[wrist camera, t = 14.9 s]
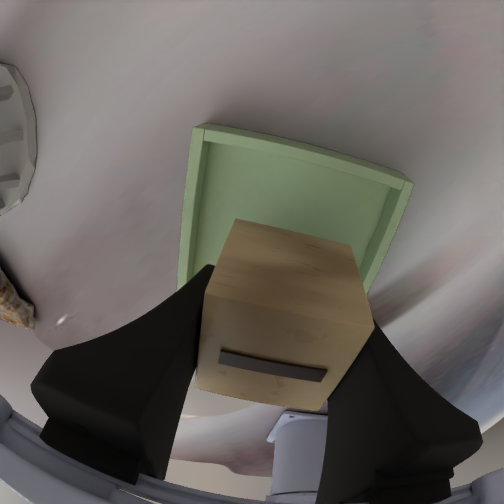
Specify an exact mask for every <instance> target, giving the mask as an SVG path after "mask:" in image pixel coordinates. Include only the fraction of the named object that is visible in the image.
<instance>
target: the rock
mask: <svg viewBox="0 0 504 504" xmlns="http://www.w3.org/2000/svg"><path fill="white" fill-rule="evenodd" d="M33 312H34V306H33V305H32V304H30V303H29V302H27V301H25V300H24V299H20V298H19V296H18V293H17V291H16V290H15V289H14V286H13V285H12V284H11V283H10V281H9V280H8V279H7V278H6V276H5V274H4V272H3V271H2V270H1V267H0V319H1V320H4V321H6V322H11V323H12V324H13V325H15V326H18V327H24V328H27V329H28V330H34V328H35V320H34V319H33Z"/></svg>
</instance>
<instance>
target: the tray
mask: <svg viewBox="0 0 504 504" xmlns="http://www.w3.org/2000/svg"><path fill="white" fill-rule="evenodd" d="M413 186H414V183H413V182H412V181H411V180H409V179H408V178H407V177H406V176H405V175H404V174H402V173H400V172H398V171H395V170H392V169H389V168H386V167H383V166H380V165H377V164H374V163H371V162H368V161H365V160H362V159H359V158H355V157H352V156H349V155H345V154H342V153H339V152H335V151H332V150H328V149H324V148H321V147H317V146H313V145H309V144H305V143H301V142H297V141H293V140H289V139H285V138H281V137H276V136H272V135H267V134H262V133H258V132H253V131H248V130H243V129H237V128H232V127H226V126H220V125H214V124H208V123H203V124H200V125H198V126H195V127H193V131H192V138H191V146H190V153H189V161H188V169H187V177H186V185H185V195H184V204H183V214H182V225H181V237H180V249H179V264H178V280H177V291H178V290H179V289H180V288H181V287H182V286H184V285H185V284H186V283H187V282H188V281H189V280H190V279H192V278H193V277H194V276H195V275H196V274H197V273H198V272H199V271H200V270H201V269H202V268H203V267H204V266H205V265H207V264H211V265H215V266H216V263H217V261H218V258H219V256H220V253H221V251H222V249H223V246H224V244H225V241H226V239H227V236H228V234H229V232H230V229H231V227H232V224H233V222H234V220H235V218H238V219H242V220H247V221H251V222H255V223H260V224H264V225H269V226H273V227H277V228H282V229H286V230H290V231H294V232H299V233H303V234H307V235H311V236H315V237H319V238H323V239H328V240H332V241H336V242H340V243H344V244H348V245H350V246H351V248H352V251H353V254H354V257H355V260H356V264H357V267H358V270H359V273H360V276H361V280H362V283H363V286H364V290H365V293H366V295H367V293H368V291H369V289H370V287H371V285H372V283H373V281H374V279H375V277H376V275H377V273H378V271H379V269H380V266H381V264H382V262H383V260H384V258H385V255H386V253H387V251H388V249H389V246H390V244H391V242H392V240H393V237H394V235H395V232H396V230H397V228H398V225H399V223H400V220H401V218H402V215H403V213H404V210H405V208H406V205H407V202H408V200H409V197H410V195H411V192H412V189H413Z"/></svg>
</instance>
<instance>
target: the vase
mask: <svg viewBox="0 0 504 504" xmlns="http://www.w3.org/2000/svg"><path fill="white" fill-rule="evenodd" d="M36 155H37V147H36V116H35V113H34V109H33V106H32V102H31V98H30V94H29V90H28V86H27V84H26V82H25V81H24V79H23V78H22V76H21V75H20V73H19V72H18V70H17V69H16V67H15V66H11V65H6V64H1V63H0V216H1V215H2V214H4V213H6V212H7V211H9V210H10V209H12V208H13V207H15V206H17V205H18V204H20V203H22V200H23V197H24V196H25V195H26V194H27V192H28V188H29V183H30V180H31V177H32V175H33V173H34V170H35V159H36Z"/></svg>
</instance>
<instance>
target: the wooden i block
mask: <svg viewBox="0 0 504 504" xmlns="http://www.w3.org/2000/svg"><path fill="white" fill-rule="evenodd" d="M374 328H375V326H374V322H373V318H372V315H371V311H370V307H369V304H368V300H367V297H366V293H365V290H364V286H363V283H362V280H361V276H360V273H359V270H358V267H357V264H356V260H355V257H354V254H353V251H352V248H351V246H350V245H348V244H344V243H340V242H336V241H332V240H328V239H323V238H319V237H315V236H311V235H307V234H303V233H299V232H294V231H290V230H286V229H282V228H277V227H273V226H269V225H264V224H260V223H255V222H251V221H247V220H242V219H238V218H235V220H234V222H233V224H232V227H231V229H230V232H229V234H228V236H227V239H226V241H225V244H224V246H223V249H222V251H221V253H220V256H219V258H218V261H217V263H216V266H215V268H214V271H213V273H212V276H211V278H210V281H209V283H208V286H207V288H206V291H205V295H204V303H203V311H202V320H201V329H200V338H199V348H198V358H197V368H196V378H195V388H196V389H200V390H204V391H208V392H212V393H217V394H221V395H225V396H230V397H234V398H239V399H244V400H249V401H254V402H259V403H265V404H271V405H277V406H283V407H290V408H297V409H304V410H313V411H319V409H320V408H321V407H322V405H323V404H324V403H325V401H326V400H327V399H328V397H329V396H330V395H331V393H332V392H333V390H334V389H335V388H336V386H337V385H338V383H339V382H340V381H341V379H342V378H343V376H344V375H345V373H346V372H347V370H348V369H349V367H350V366H351V364H352V363H353V361H354V360H355V358H356V357H357V355H358V354H359V352H360V351H361V349H362V348H363V346H364V344H365V343H366V341H367V340H368V338H369V336H370V335H371V333H372V331H373V330H374Z"/></svg>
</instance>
